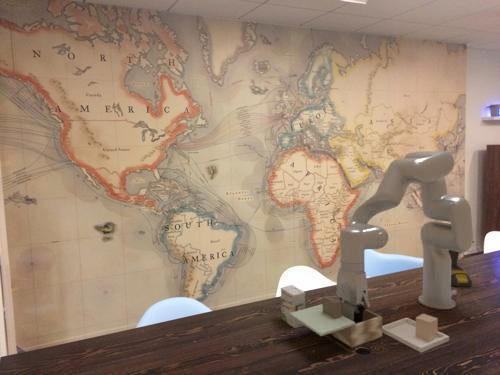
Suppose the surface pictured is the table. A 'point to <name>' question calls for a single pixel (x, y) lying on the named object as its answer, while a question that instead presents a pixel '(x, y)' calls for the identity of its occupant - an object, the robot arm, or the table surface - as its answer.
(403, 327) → the white tray
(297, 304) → the ink box
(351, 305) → the granite block
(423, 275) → the robot arm
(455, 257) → the power drill
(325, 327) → the sage lid
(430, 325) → the sandstone block
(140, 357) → the table surface
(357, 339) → the birch box
